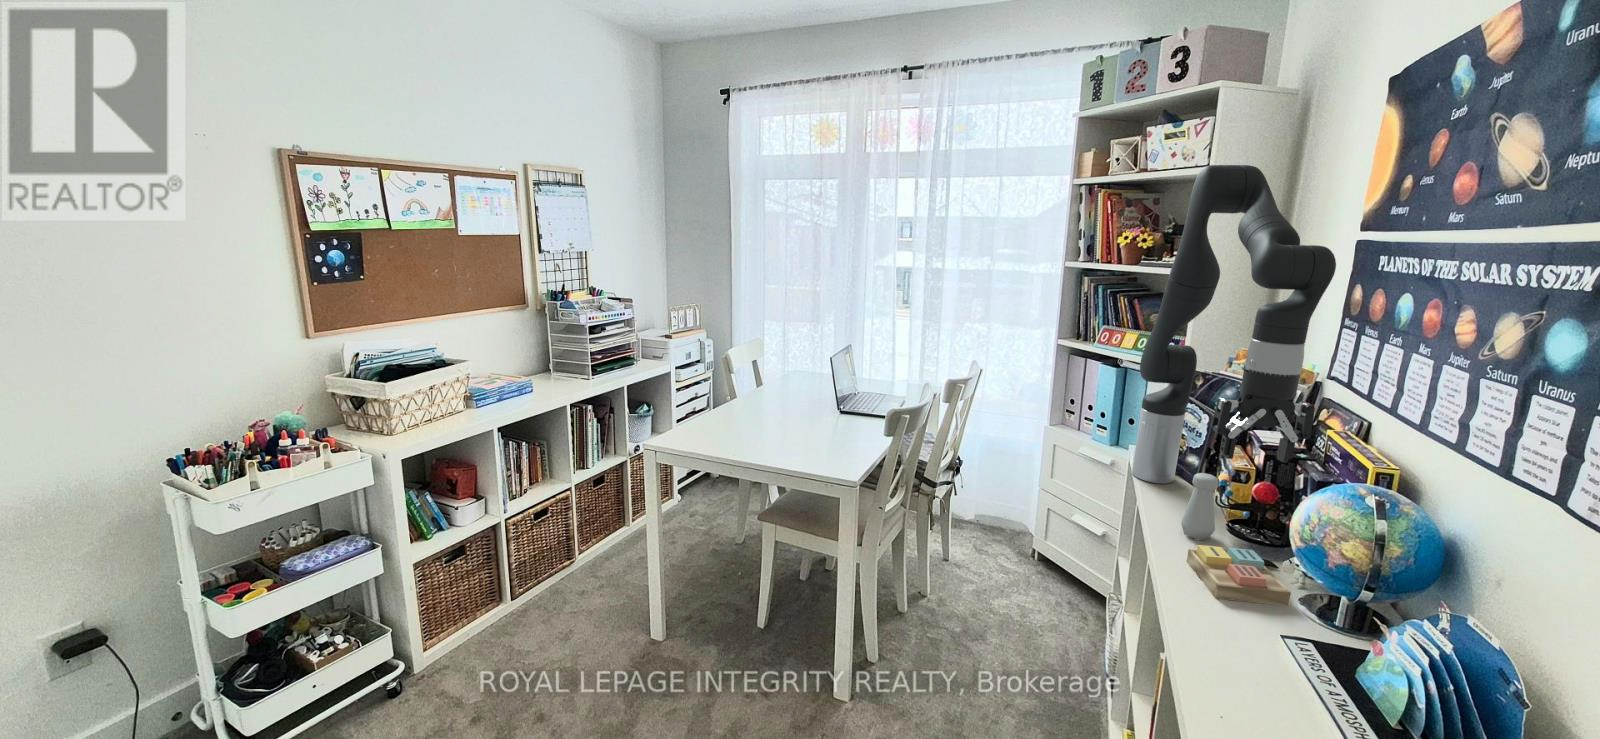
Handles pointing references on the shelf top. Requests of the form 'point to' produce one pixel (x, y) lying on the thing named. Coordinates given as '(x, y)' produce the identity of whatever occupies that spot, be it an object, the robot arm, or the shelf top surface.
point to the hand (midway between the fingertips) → (1254, 459)
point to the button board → (1229, 590)
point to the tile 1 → (1213, 555)
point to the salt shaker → (1200, 508)
